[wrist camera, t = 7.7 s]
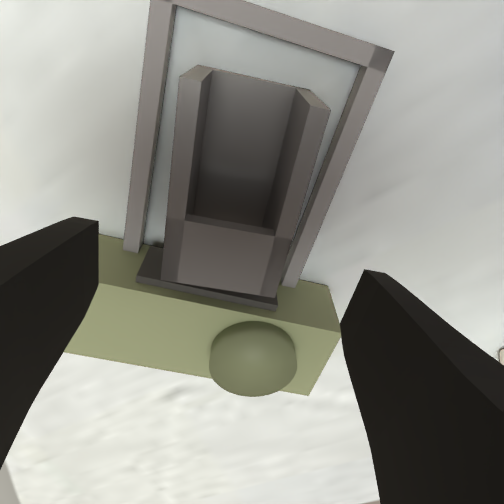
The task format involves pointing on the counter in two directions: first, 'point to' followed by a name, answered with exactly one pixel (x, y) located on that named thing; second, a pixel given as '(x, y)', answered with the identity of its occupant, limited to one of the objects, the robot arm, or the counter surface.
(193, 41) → the counter surface
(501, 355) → the medicine bottle
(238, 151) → the chute
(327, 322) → the grey frame stand
